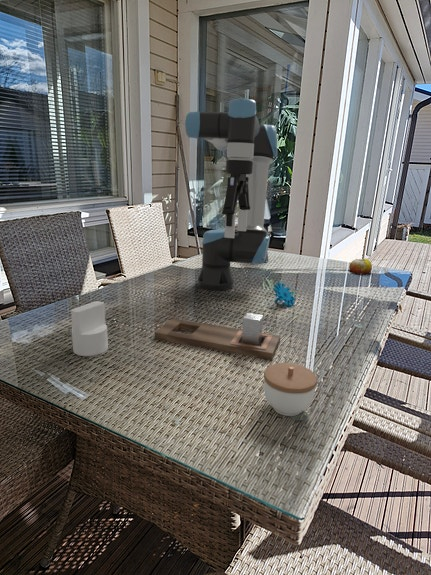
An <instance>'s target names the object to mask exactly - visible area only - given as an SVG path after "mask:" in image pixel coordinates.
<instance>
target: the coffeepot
mask: <svg viewBox="0 0 431 575" xmlns="http://www.w3.org/2000/svg"><path fill="white" fill-rule="evenodd" d="M266 231H267V230H266ZM267 235H268V236H270V241H269V246H268V248H269V247H271V246H272V243H273V239H274V236H275V233H274V232H273V230H272V231H271V230H269V231H267V234H266V236H267ZM268 252H269V251H267V255H266V258H265V261H264V262H266V261H268V262H269V253H268ZM266 263H267V262H266Z"/></svg>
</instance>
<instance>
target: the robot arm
mask: <svg viewBox="0 0 431 575" xmlns="http://www.w3.org/2000/svg"><path fill="white" fill-rule="evenodd" d="M184 120H185V121H184V122H185V123H184V126H185V127H184V129H185V133H186V135H187V137H188V138H189V139H191V138H192V139H204V140H205V141H207V142H209V143H211V144H212V145H213V147H214V148H215V149H216V150H219V151H220V152H223V153H226V157H227V158H228V159H227V160H226V163H225V165H226V166H225V172H226V173H227V174H231V175H232V176H231V177H230V176H229V177H227V187H226V191H225V192H226V193H225V198H224V202H223V207H222V208H223V209H222V211H221V213H222V215H225V216H224V220H225V221H224V228H217V229H211V230H206V231H205V232H204V233H203V235H202V237H203V238H202V243H201V244H202V258H201V260H202V262H201V263H202V264H201V269H200V271H199V274H198V278H197V286H198V287H199V288H202V289H203V290H209V291H210V290H211V291H225V290H230V289H232V288H233V287H234V282H235V280H234V276H233V274H232V270H231V263H239V264H250V265H262V264H264V263H263V262H264V261H265V258H266V255H267V252H269V247H270V246H269V241H270V237H271V235H270V236H268V235H267V236H266V234H267V229H266V228H265V227H264V226H265V225H264V224H265V213H266V212H265V211H266V200H267V191H268V179H269V166H270V165H271V164H272V163H273V162H274V158H276V157H278V135H277V134H278V132H277V128H276V126H275V125H274V124H273V125H272V124H264V123H263V124H260V120H259V119H258V117H257V102H256V101H255V100H254V99H251V98H250V99H248V98H235V99H231V100H230V101H229V104H228V111H217V112H216V111H198V110H197V111H189V112H188V113H187V114H186V116H185V119H184ZM237 204H238V205H237ZM237 206H238V207H239V209H238V211H237V212H238V213H237V225H236V214H235V213H236V209H237ZM236 226H237V228H236ZM235 229H237V230H235ZM235 231H237V233H235ZM268 246H269V247H268Z"/></svg>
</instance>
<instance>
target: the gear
mask: <svg viewBox="0 0 431 575" xmlns="http://www.w3.org/2000/svg"><path fill="white" fill-rule="evenodd" d="M290 290H291V288H290V286H287V287H286V284H285V283H284V282H282V283H281V282H280V281H278V282H277V283H275V284H274V288H273V292H275V297H276V298H275V299H274V302H275V303H277V302H280V303H282V302H283V301H284V302H283V305H284V306H286V307H287V306H288V307H292V306H293V305H294V304H296V302H295V300H296V297H295V296H294V294H295V291H294V290H292V291H290Z"/></svg>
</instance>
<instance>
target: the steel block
mask: <svg viewBox="0 0 431 575" xmlns="http://www.w3.org/2000/svg"><path fill="white" fill-rule="evenodd" d="M242 320H243V321H242V330H243V333H242V343H243V344H249V345H254V346H260V347H261V345H262V343H261V338H262V333H263V324H264V323H263V322H264V314H258V313H252V312H247V313H245V315H244V317H243V319H242Z"/></svg>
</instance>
